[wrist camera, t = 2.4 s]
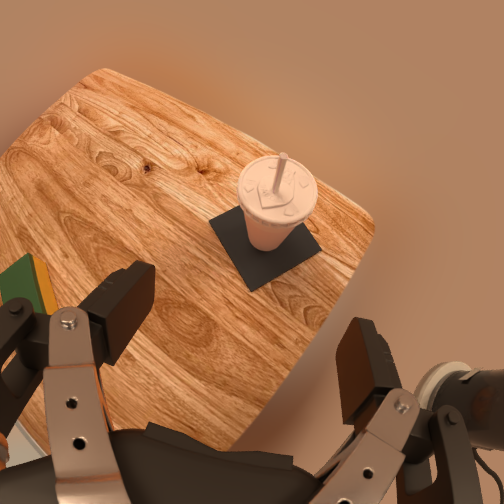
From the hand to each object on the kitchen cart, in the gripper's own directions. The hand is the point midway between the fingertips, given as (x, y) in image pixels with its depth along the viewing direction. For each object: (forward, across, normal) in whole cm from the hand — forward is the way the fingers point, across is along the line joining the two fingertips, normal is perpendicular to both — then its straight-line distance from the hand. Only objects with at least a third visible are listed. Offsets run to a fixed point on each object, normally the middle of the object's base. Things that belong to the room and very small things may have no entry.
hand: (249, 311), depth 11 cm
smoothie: (+20, 0, +5) cm, 20 cm away
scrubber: (+9, +24, +16) cm, 30 cm away
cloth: (+20, 0, +5) cm, 20 cm away
